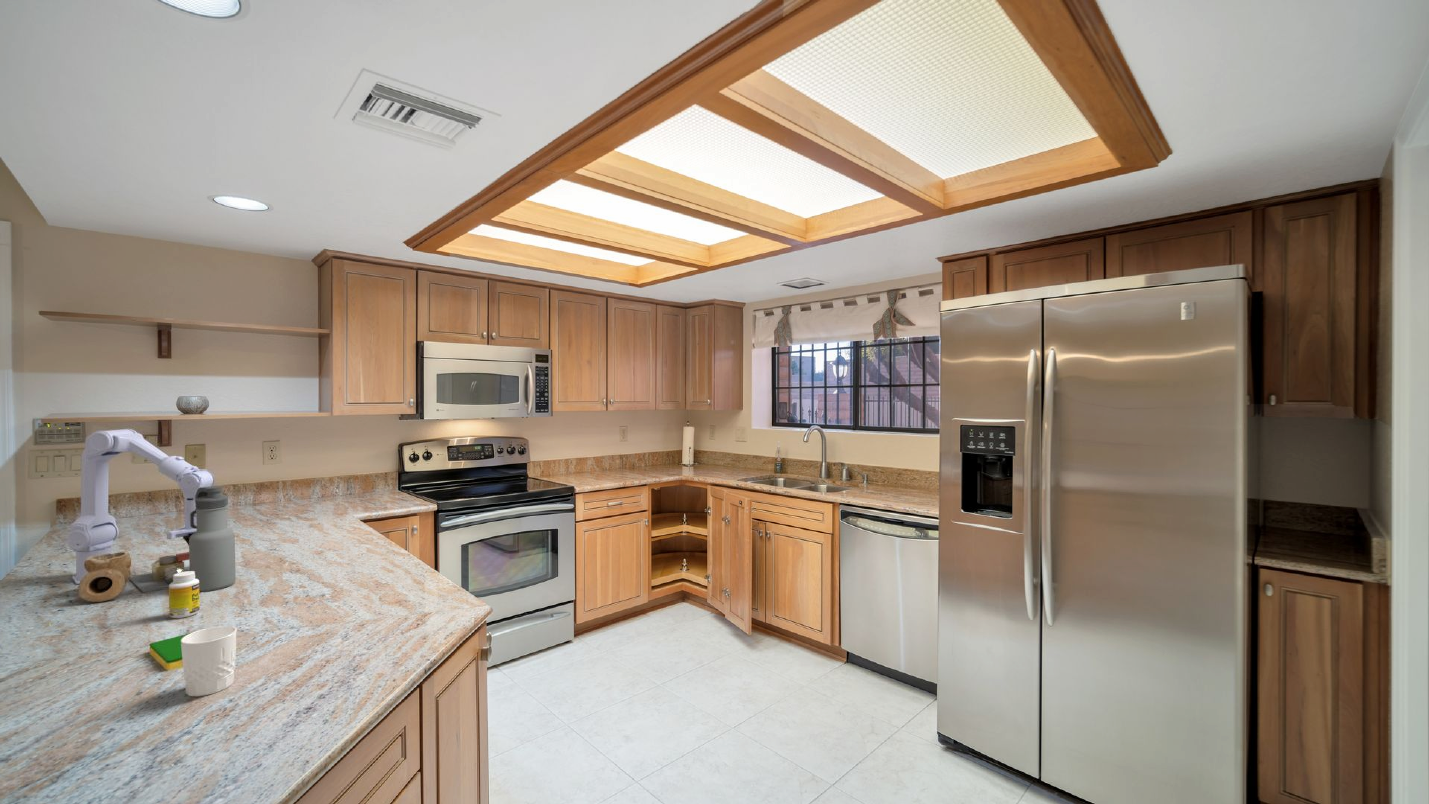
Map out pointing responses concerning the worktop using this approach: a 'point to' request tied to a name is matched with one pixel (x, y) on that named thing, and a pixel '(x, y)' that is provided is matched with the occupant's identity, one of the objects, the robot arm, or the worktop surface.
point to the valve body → (166, 571)
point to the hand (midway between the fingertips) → (198, 557)
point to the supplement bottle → (184, 595)
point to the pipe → (105, 576)
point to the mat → (150, 582)
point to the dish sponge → (168, 652)
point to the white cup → (209, 660)
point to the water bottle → (212, 541)
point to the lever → (174, 558)
